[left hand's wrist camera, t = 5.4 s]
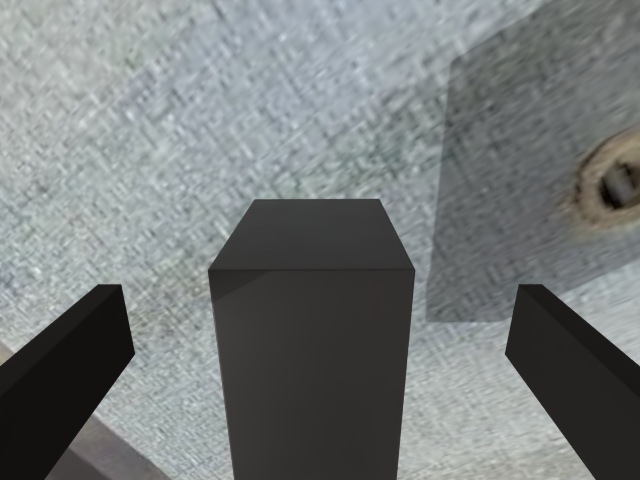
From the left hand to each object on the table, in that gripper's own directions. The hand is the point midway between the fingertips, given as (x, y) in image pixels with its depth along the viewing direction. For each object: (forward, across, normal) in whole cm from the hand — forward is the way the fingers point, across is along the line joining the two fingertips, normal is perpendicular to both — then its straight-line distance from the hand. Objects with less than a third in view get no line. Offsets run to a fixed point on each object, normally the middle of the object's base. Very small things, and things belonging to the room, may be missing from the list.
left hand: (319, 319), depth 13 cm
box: (+10, 0, -10) cm, 14 cm away
